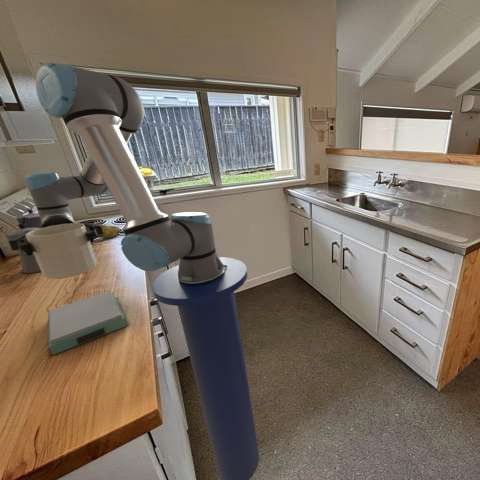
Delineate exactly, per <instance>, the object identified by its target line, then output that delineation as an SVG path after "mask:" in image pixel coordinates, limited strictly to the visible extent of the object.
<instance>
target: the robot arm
mask: <svg viewBox="0 0 480 480" xmlns="http://www.w3.org/2000/svg"><path fill="white" fill-rule="evenodd" d="M35 77H36V78H35V91H36V96H37V98H38V101H39V104H40V105H41V107H42V108H43V110H44V111H45V112H46V113H47V114H49V115H50V116H52V117H55V118H57V119H62V121H63V123H64V124H65V126H66V128H67V129H68V131H70V132H73V133H74V134H76V135H78V136H79V137H80V139H81V141H82V143H83V145H84V147H85V148H86V150H87V152H88V154H87V158H86V160H85V162H84V164H83V166H82V169H81V171H80V172H79V175H72V176H59V175H58V173H57V172H54V171H49V172H47V171H46V172H45V171H44V172H31V173H27V174H26V175H25V176H24V179H25V184H26V185H27V190H28V192H29V194H30V196H31V198H32V200H33V202H34V205H35V207H36V211H37V213H39V215H40V218H41V220H42V225H41V228H44V227H49V226H54V225H61V224H70V223H76V222H75V218H74V215H73V213H72V211H71V207H70V204H69V202H68V201H69V200H75V199H81V198H88V197H93V196H102V195H105V194H108V193H110V195H111V197H112V199H113V200H114V203H115V204H116V206H117V208H118V210H119V211H120V214H121V216H122V217H123V219H124V221H125V225H124V227H123V229H122V232H123V233H124V235H125V236H124V237H122V239H121V241H120V246H121V251H122V253H123V255H124V257H125V258H126V259H127V261H128V262H129V263H130V264H132V265H133V266H134V267H135V268H136V269H137V268H138V269H140V270H141V271H144V272H155V271H158V270H161V269H163V268H166V267H168V266H169V265H170V264H172V263H174V262H177V261H178V260H179V263H178V265H179V269H178V279H179V282H180V283H182V284H184V285H202V284H206V283H210V282H212V281H215V280H217V279H218V278H220V277H221V276H222V275H223V274H224V272H225V271H224V267H227V265H223V264H222V262H221V260H220V258H219V257H220V256H219V255H218V252H217V251H216V243H215V237H214V232H213V231H214V230H213V224H212V221H211V217H210V215H209V214H208V213H207V212H199V211H185V212H176V213H172V214H171V215H170V217H169V215H168V214H166V213H163V212H161V211H160V209H159V207H158V205H157V204H156V201H155V199H154V197H153V195H152V193H151V191H150V189H149V187H148V185H147V183H146V181H145V179H144V176H143V175H142V173H141V171H140V169H139V167H138V165H137V163H136V161H135V159H134V157H133V155H132V153H131V151H130V148H129V147H128V142H129V141H130V139H131V137H132V135H133V134H137V133H139V130H140V129H141V126H142V124H143V121H144V117H145V116H144V115H145V114H144V113H145V110H144V105H143V101H142V99H141V97H140V95H139V94H138V92H137V90H136V89H135V88H134V87H133V86H132V85H131V84H130V83H129V82H127V81H126V80H124V79H123V78H120V77H118V76H116V75H113V74H108V73H102V72H99V71H94V70H90V69H85V68H81V67H75V66H73V65H71V64H68V63H65V64H62V63H57V62H53V61H52V62H46V63H44V64H42V65H41V66H40V67H39V68H38V71H37V73H36V76H35ZM81 224H84V225H85V228H86V231H87V234H88V237H89V240H90V242H91V244H93V243H95V240H94V238H96V237H97V234H104V232H103V229H102V225H103V224H102V225H97V224H98V223H91V222H89V221H84V222H82V223H81ZM28 232H30V231H25V232H24V233H23V234H21V235H19V236H17V237H15V238H13V239H11V240H10V241H9V240H8V241H7V242H8V245H9V247H10V249H11V251H16V250H18V249H20V250H21V251H24V252H26V254H27V256H30V255H32V253H33V251H32V249H31V247H30V245H29V242H28V240H27V238H26V236H25V235H26V233H28Z"/></svg>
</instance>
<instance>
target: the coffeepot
mask: <svg viewBox="0 0 480 480" xmlns="http://www.w3.org/2000/svg"><path fill="white" fill-rule="evenodd" d="M17 226H18V227H19V229H15V230H12V231H7V232H5V233H4V236H5V238H6V239H7V240H8V241H10V240H11V239H13V238H15V237H17V236H19V235H21V234H23V233H24V232H25V231H33V230H36V229H40V228H25V224H19V223H18V224H17ZM15 251H17V252H18V253H19V261H20V265H21V272H22V273H25V274H34V273H39V272H41V270H40V267H39V265H38V263H37V261H36V258H35V256H34V254H33V253H32V255H30V256H27V254H26V252H24V251H21V250H20V249H18V250H15Z"/></svg>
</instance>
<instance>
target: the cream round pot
mask: <svg viewBox="0 0 480 480" xmlns="http://www.w3.org/2000/svg"><path fill="white" fill-rule="evenodd" d="M25 236H26V238H27V240H28V242H29V245H30V247H31V249H32V251H33V254H34V256H35V258H36V261H37V263H38V265H39V267H40V270H41V271H40V272H41V274H42V276H43V278H46V279H51V280H52V279H53V280H60V279H68V278H72V277H75V276H79V275H82V274H84V273H88V272H89V271H91V270H92V269H94V268H95V267H96V266H97V265H98V263H99V262H98V259H97V257H96V253H95V251H94V248H93V245H92V243H91V242H90V240H89V237H88V234H87V231H86V228H85V225H84V224H82V223H80V222H75V223H70V224H61V225H54V226H49V227H44V228H40V229H36V230H33V231H30V232H28V233H26V235H25Z"/></svg>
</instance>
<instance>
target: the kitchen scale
mask: <svg viewBox="0 0 480 480" xmlns="http://www.w3.org/2000/svg"><path fill="white" fill-rule="evenodd" d="M47 314H48V315H47V317H48V320H47V321H48V323H47V324H48V327H47V328H48V329H47V331H48V349H49V351H50V353H51V355H52V356H54V355H57V354H60V353H61V352H64V351H68V350H69V349H72V348H75V347H77V346H79V345H82V344H84V343H87V342H90V341H92V340H94V339H95V340H96V339H97V338H100V337H102V336H104V335H107V334H109V333H112V332H114V331H117V330H119V329H122V328H125V327H127V326H128V323H127V320H126V317H125V316H124V313H123V311H122V309H121V306H120V304H119V302H118V300H117V298H116V296H115V293H114V291H113V292H112V291H111V290H109V291H106V292H103V293H99V294H97V295H93V296H90V297H87V298H83V299H81V300H77V301H74V302H70V303H67V304H64V305H61V306H58V307H54V308H51V309H49V312H48V313H47Z"/></svg>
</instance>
